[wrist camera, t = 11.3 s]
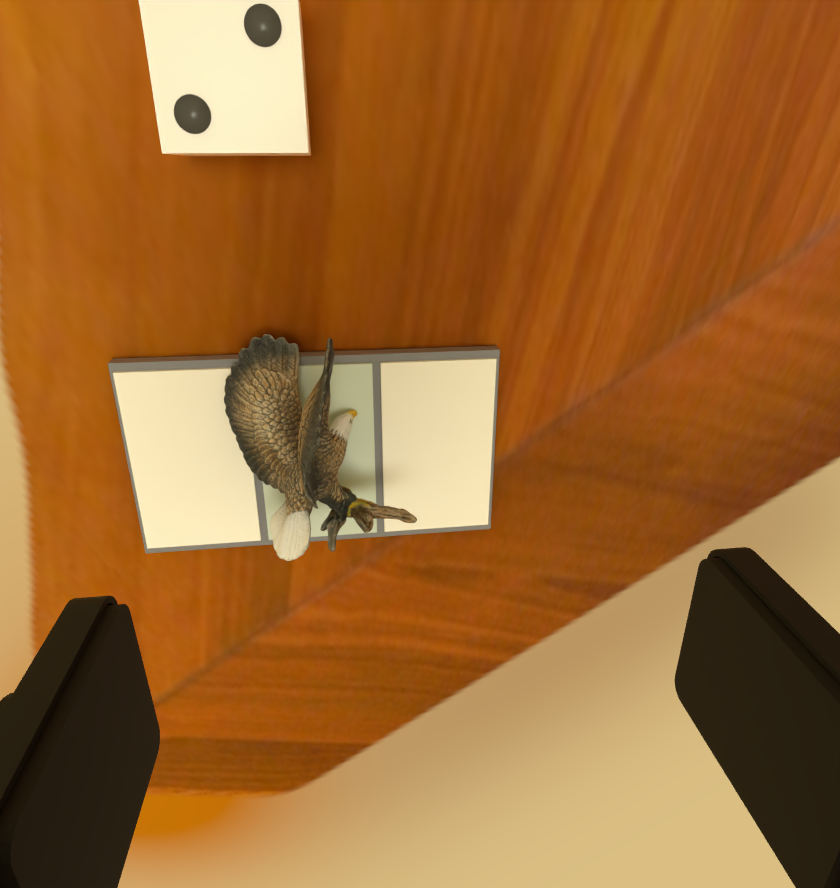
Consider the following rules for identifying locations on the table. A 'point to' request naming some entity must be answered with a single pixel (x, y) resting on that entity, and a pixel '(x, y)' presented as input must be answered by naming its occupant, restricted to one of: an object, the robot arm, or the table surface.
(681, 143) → the table surface
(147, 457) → the game board
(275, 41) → the die
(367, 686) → the table surface
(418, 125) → the table surface
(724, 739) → the robot arm
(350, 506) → the eagle figurine
